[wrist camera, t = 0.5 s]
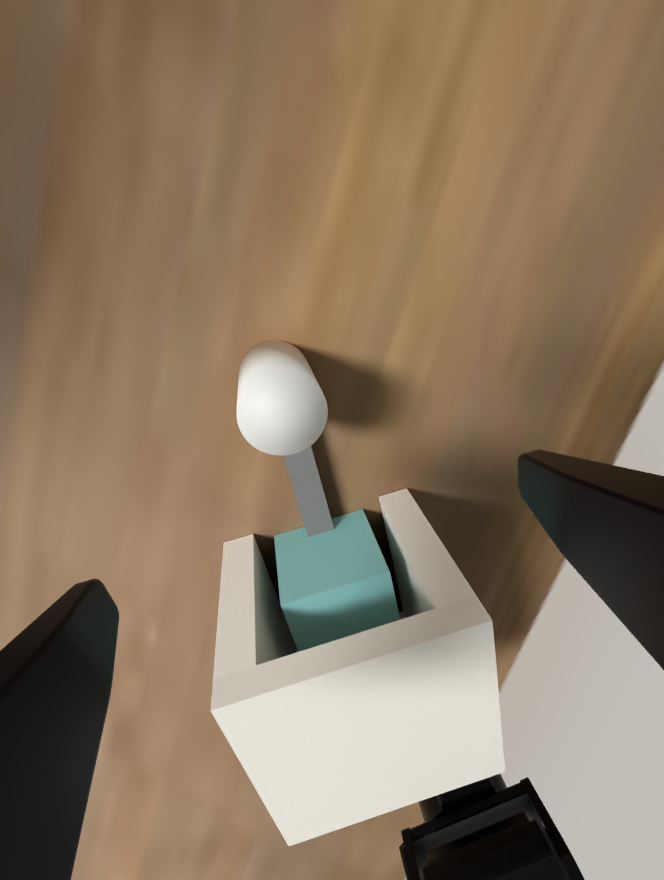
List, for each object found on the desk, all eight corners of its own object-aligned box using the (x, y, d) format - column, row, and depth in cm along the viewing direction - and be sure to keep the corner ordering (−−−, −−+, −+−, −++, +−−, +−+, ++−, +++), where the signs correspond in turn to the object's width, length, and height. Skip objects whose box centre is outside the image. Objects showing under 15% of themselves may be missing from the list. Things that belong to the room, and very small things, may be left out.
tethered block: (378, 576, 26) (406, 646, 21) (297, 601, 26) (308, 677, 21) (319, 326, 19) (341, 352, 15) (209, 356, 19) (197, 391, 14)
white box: (430, 621, 28) (505, 777, 20) (278, 669, 28) (291, 851, 19) (406, 488, 24) (492, 620, 15) (223, 542, 23) (210, 710, 15)
